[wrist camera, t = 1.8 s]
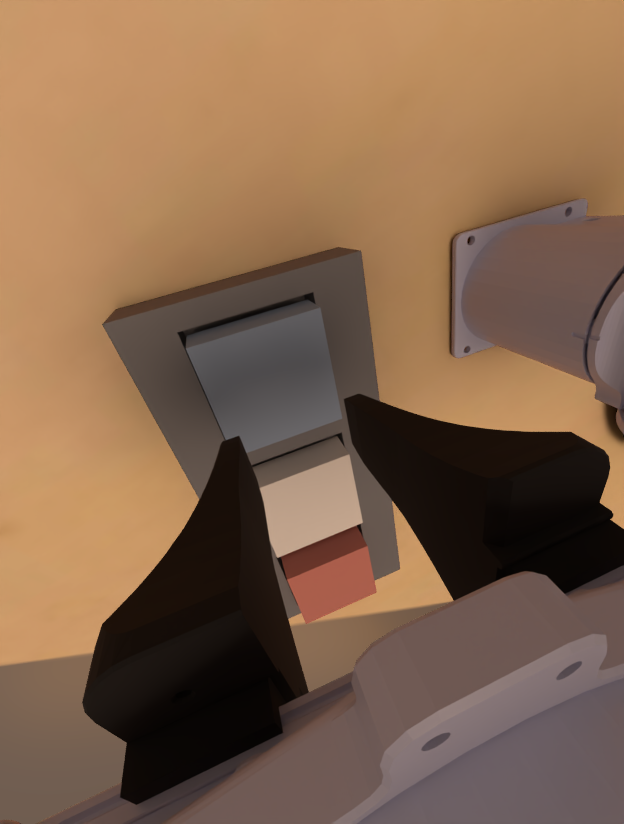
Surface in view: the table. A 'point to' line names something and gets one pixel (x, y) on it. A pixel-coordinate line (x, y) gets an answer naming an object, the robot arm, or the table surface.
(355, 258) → the key panel
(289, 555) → the red key
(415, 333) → the table surface
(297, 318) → the blue key
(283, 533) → the white key
